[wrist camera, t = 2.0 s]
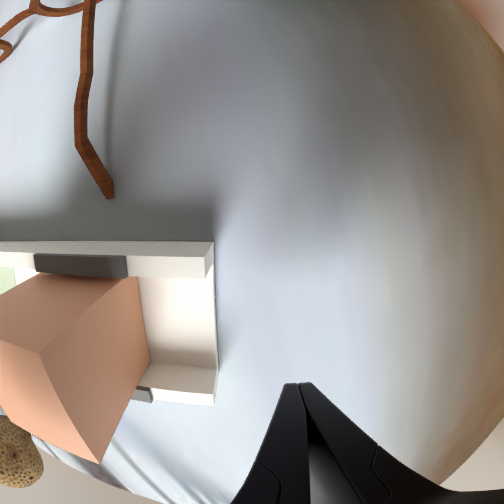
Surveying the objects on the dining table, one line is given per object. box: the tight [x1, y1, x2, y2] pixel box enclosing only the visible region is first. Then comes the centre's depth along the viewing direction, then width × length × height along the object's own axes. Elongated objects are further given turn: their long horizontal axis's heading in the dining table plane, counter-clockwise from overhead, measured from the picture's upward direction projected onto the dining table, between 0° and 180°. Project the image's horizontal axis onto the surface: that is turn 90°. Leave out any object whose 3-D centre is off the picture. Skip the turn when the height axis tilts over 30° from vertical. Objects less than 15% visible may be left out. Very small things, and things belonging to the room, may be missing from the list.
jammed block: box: [0, 272, 151, 464], centre depth 9 cm, size 5×5×7 cm
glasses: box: [0, 0, 114, 199], centre depth 8 cm, size 13×13×5 cm
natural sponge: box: [0, 415, 43, 488], centre depth 12 cm, size 9×9×10 cm
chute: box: [0, 241, 219, 406], centre depth 11 cm, size 18×7×3 cm, turn 89°
